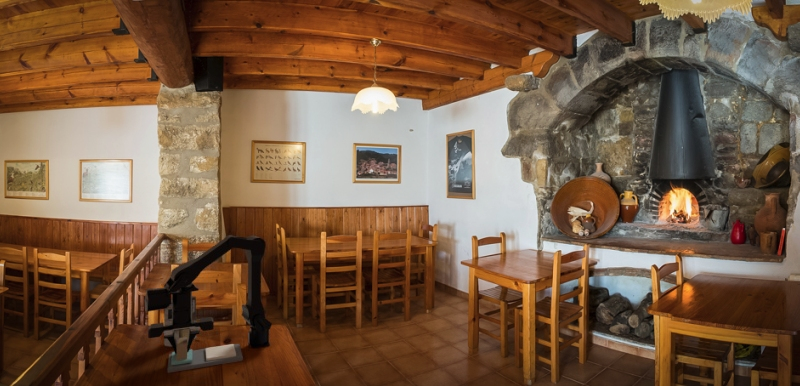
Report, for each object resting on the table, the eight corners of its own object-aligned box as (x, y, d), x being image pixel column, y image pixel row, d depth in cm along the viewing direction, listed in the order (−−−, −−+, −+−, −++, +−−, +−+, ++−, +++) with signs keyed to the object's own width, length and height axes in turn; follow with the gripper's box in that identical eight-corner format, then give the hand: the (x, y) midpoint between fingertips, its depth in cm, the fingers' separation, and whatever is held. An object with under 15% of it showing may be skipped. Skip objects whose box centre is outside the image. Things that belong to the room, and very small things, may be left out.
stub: (192, 351, 143) (192, 334, 143) (192, 362, 135) (192, 344, 135) (172, 354, 140) (172, 337, 140) (171, 365, 132) (171, 347, 132)
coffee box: (181, 336, 160) (181, 294, 159) (196, 338, 158) (196, 296, 158) (163, 346, 151) (163, 301, 150) (179, 348, 149) (179, 303, 149)
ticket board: (239, 347, 151) (239, 341, 151) (242, 360, 140) (242, 354, 140) (169, 357, 141) (169, 351, 141) (167, 372, 131) (167, 366, 131)
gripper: (212, 296, 148) (212, 339, 149) (151, 302, 140) (151, 348, 141) (213, 305, 138) (213, 351, 139) (147, 312, 130) (148, 361, 131)
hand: (182, 352), depth 138 cm, fingers closed on stub, 3 cm apart
